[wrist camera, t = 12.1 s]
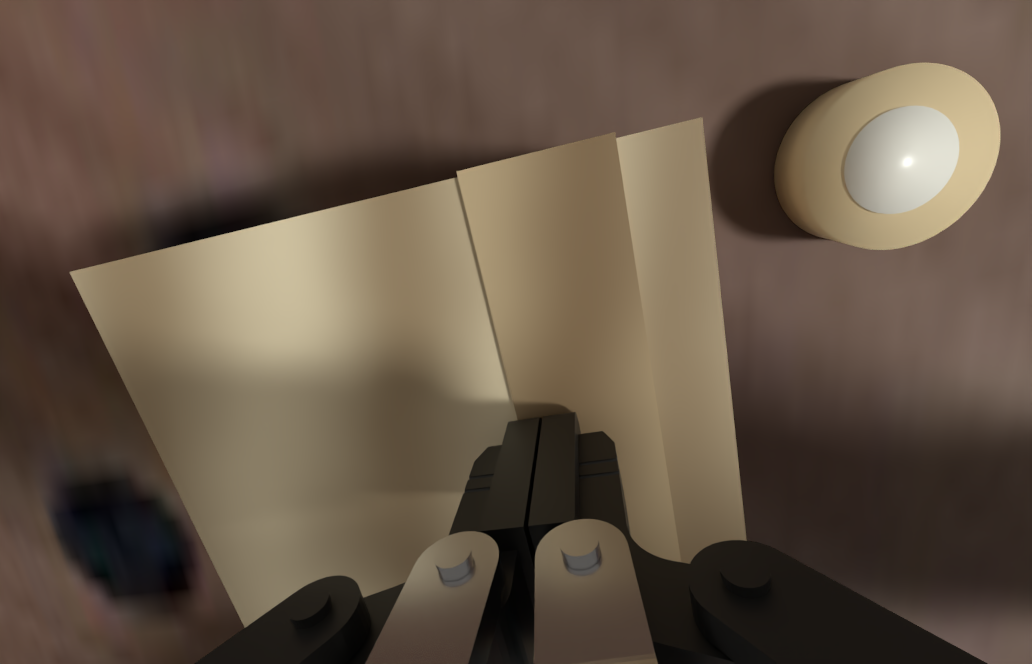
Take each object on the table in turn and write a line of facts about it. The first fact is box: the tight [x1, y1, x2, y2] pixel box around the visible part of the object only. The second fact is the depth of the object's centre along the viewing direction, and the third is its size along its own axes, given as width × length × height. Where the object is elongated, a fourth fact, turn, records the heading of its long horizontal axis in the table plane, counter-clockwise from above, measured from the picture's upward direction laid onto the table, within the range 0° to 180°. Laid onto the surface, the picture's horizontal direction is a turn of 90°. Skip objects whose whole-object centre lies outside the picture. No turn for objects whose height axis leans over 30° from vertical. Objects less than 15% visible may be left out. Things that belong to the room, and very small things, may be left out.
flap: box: [70, 117, 747, 627], centre depth 12 cm, size 14×13×1 cm
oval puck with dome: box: [774, 63, 1000, 250], centre depth 15 cm, size 5×5×2 cm
